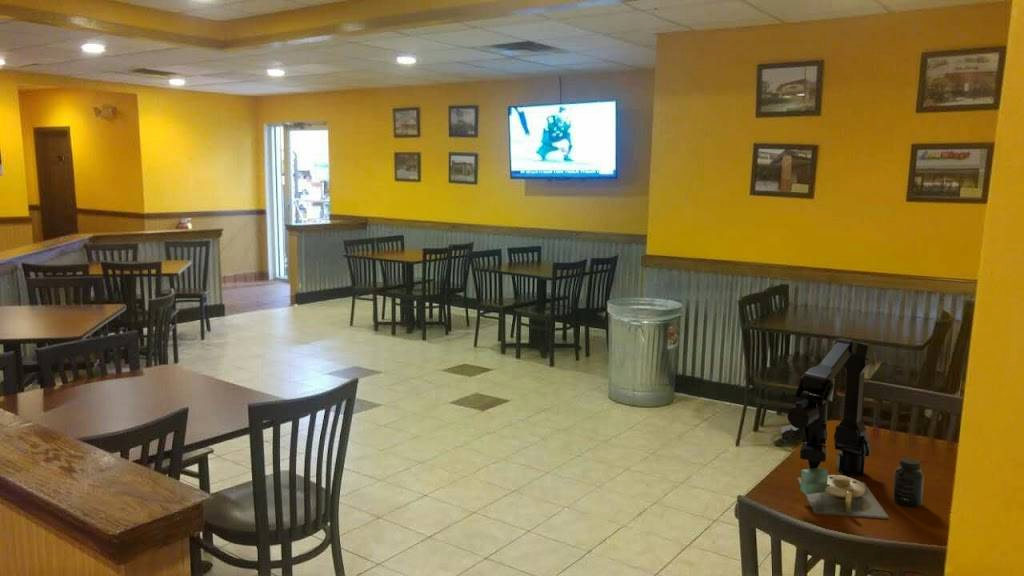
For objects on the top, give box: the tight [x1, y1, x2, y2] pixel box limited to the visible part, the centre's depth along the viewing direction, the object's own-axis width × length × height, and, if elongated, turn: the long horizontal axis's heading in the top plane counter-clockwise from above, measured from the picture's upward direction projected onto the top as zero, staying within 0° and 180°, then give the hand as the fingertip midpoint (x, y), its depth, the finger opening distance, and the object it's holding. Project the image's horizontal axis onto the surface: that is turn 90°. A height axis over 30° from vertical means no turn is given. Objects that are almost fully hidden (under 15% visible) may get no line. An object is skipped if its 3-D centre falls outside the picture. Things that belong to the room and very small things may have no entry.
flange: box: [800, 467, 866, 498], centre depth 198 cm, size 18×12×6 cm
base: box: [796, 477, 890, 520], centre depth 199 cm, size 18×22×6 cm
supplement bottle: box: [892, 457, 925, 509], centre depth 196 cm, size 7×7×12 cm
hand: (812, 472), depth 200 cm, fingers closed
